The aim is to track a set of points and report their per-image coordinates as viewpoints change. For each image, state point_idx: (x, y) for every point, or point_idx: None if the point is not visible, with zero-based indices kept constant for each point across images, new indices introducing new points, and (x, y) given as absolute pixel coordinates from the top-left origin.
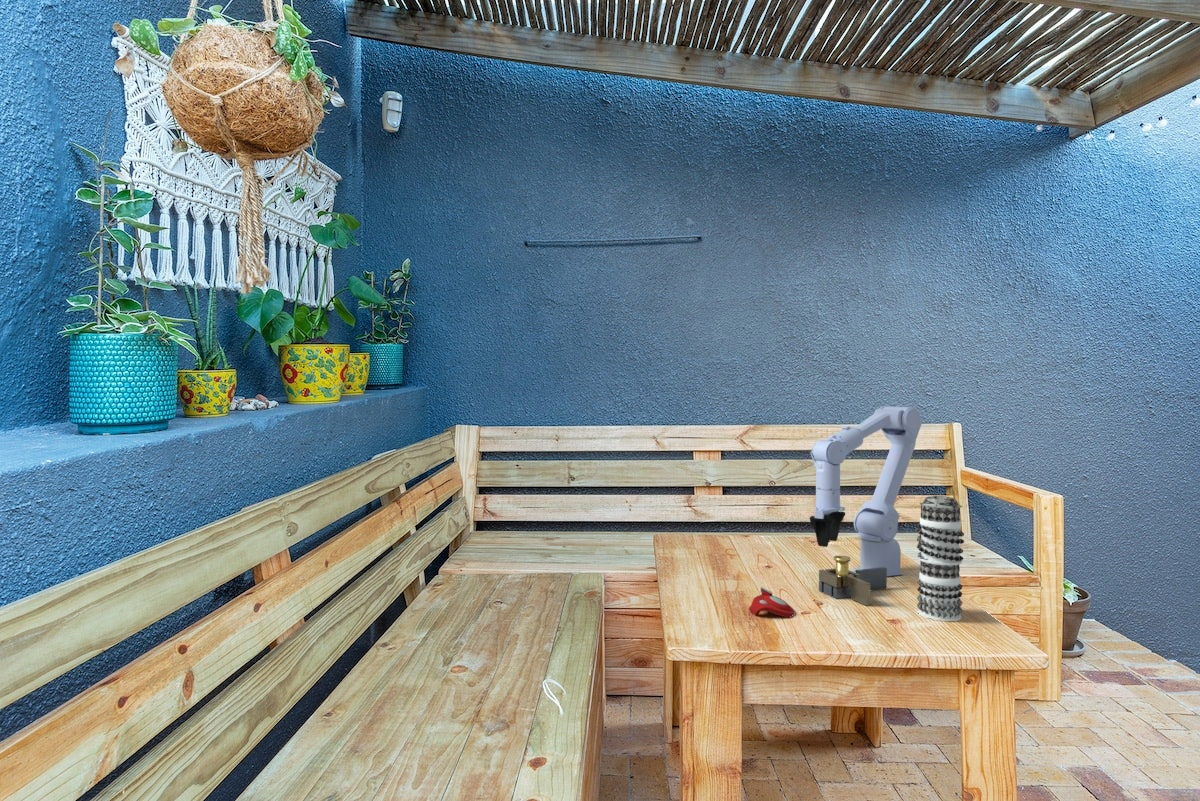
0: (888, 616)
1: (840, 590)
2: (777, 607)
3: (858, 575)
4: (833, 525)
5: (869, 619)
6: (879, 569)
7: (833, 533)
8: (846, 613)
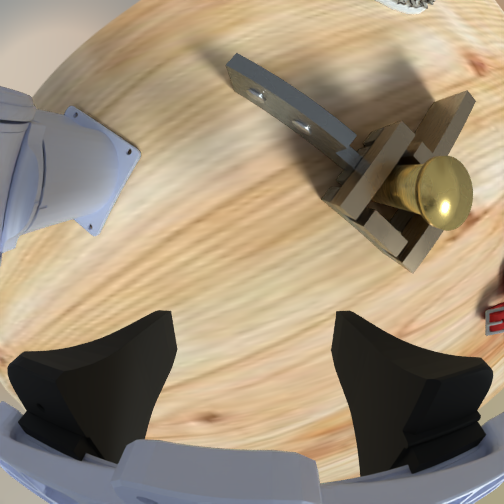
0: (463, 69)
1: None
2: None
3: (407, 128)
4: (135, 378)
5: (494, 106)
6: (267, 71)
7: (157, 346)
8: (492, 151)
